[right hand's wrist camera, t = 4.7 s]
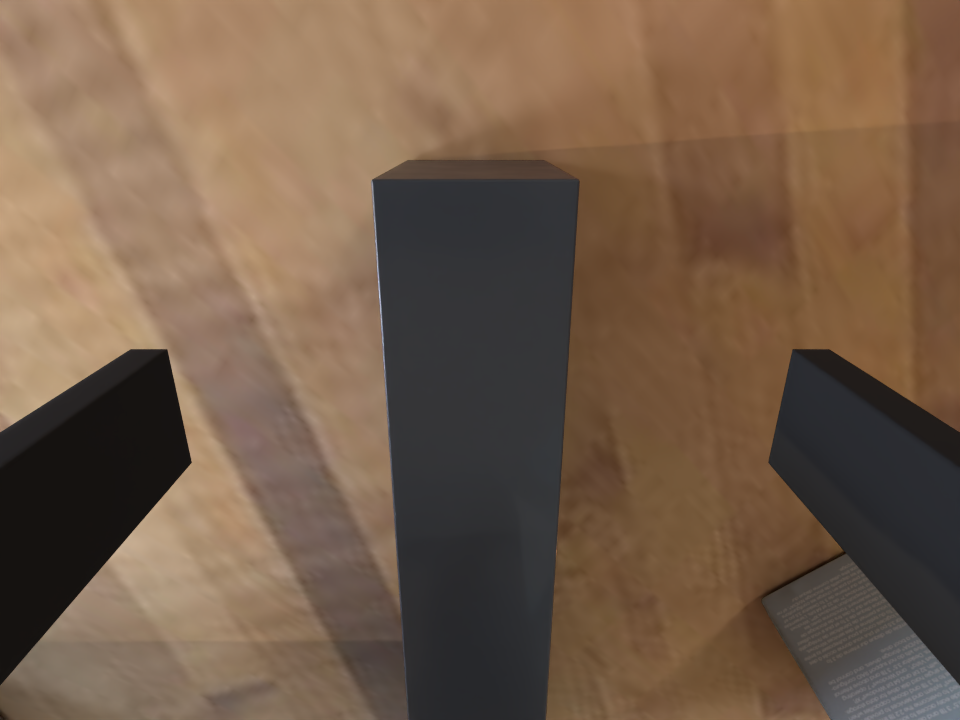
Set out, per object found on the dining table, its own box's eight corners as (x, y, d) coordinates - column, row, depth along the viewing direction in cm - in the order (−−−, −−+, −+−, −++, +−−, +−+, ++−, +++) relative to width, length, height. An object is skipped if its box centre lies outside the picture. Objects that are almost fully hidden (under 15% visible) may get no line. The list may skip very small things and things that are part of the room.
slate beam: (432, 731, 39) (420, 898, 30) (406, 160, 25) (370, 179, 17) (522, 730, 39) (534, 898, 30) (545, 160, 25) (580, 178, 17)
